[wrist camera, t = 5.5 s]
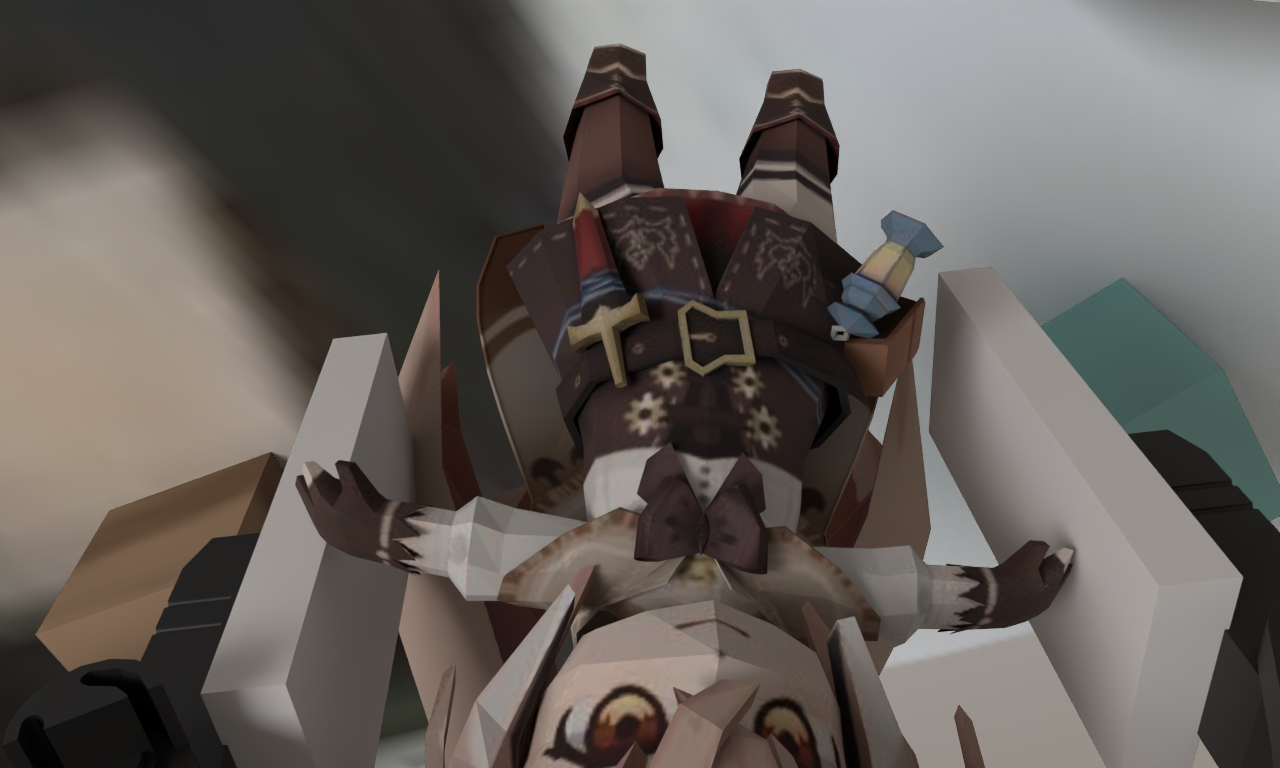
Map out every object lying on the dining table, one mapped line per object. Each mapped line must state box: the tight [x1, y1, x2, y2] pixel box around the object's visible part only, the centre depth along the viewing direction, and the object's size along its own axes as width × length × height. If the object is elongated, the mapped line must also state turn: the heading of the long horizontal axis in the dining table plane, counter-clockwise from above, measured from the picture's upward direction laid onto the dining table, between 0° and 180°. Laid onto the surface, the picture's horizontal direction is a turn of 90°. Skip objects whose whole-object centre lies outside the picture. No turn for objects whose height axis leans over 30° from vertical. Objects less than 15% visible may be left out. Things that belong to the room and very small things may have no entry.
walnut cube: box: [35, 452, 284, 672], centre depth 29 cm, size 5×5×5 cm
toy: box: [295, 44, 1074, 768], centre depth 13 cm, size 9×8×15 cm
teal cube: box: [1041, 278, 1280, 521], centre depth 28 cm, size 5×5×5 cm
